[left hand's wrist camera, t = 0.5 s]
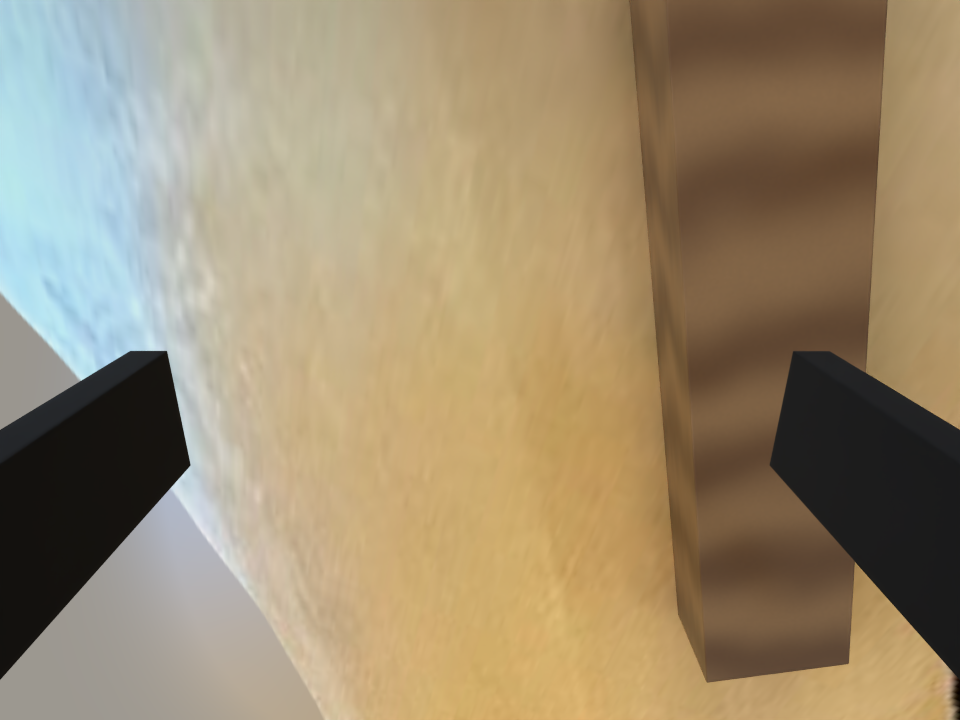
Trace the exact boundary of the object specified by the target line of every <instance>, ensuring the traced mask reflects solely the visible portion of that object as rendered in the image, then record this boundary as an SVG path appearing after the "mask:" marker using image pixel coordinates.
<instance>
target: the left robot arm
mask: <svg viewBox="0 0 960 720" xmlns="http://www.w3.org/2000/svg"><path fill="white" fill-rule="evenodd" d="M189 466H190V460H189V455H188V451H187V446H186V441H185V436H184V431H183V426H182V422H181V417H180V412H179V407H178V402H177V397H176V392H175V388H174V383H173V378H172V373H171V368H170V363H169V359H168V354H167V351H130V352H128V353H126V354H125V355H123V356H121V357H120V358H118V359H116V360H115V361H113V362H112V363H110V364H108V365H107V366H105V367H103V368H102V369H100V370H98V371H97V372H95V373H93V374H92V375H90V376H88V377H87V378H85V379H83V380H82V381H80V382H79V383H77V384H75V385H74V386H72V387H70V388H69V389H67V390H65V391H64V392H62V393H60V394H59V395H57V396H55V397H54V398H52V399H51V400H49V401H47V402H46V403H44V404H42V405H41V406H39V407H37V408H36V409H34V410H32V411H31V412H29V413H27V414H26V415H24V416H22V417H21V418H19V419H17V420H16V421H14V422H12V423H11V424H9V425H8V426H6V427H4V428H3V429H1V430H0V679H1V678H2V677H3V676H4V675H5V674H6V673H7V671H8V670H9V669H10V668H11V667H12V666H13V665H14V664H15V662H16V661H17V660H18V659H19V658H20V657H21V656H22V655H23V653H24V652H25V651H26V650H27V649H28V648H29V647H30V646H31V644H32V643H33V642H34V641H35V640H36V639H37V638H38V637H39V635H40V634H41V633H42V632H43V631H44V630H45V629H46V627H47V626H48V625H49V624H50V623H51V622H52V621H53V620H54V619H55V617H56V616H57V615H58V614H59V613H60V612H61V611H62V610H63V608H64V607H65V606H66V605H67V604H68V603H69V602H70V600H71V599H72V598H73V597H74V596H75V595H76V594H77V593H78V592H79V590H80V589H81V588H82V587H83V586H84V585H85V584H86V583H87V581H88V580H89V579H90V578H91V577H92V576H93V575H94V573H95V572H96V571H97V570H98V569H99V568H100V567H101V566H102V564H103V563H104V562H105V561H106V560H107V559H108V558H109V557H110V555H111V554H112V553H113V552H114V551H115V550H116V549H117V548H118V546H119V545H120V544H121V543H122V542H123V541H124V540H125V539H126V537H127V536H128V535H129V534H130V533H131V532H132V531H133V530H134V528H135V527H136V526H137V525H138V524H139V523H140V522H141V521H142V519H143V518H144V517H145V516H146V515H147V514H148V513H149V512H150V510H151V509H152V508H153V507H154V506H155V505H156V504H157V503H158V501H159V500H160V499H161V498H162V497H163V496H164V495H165V494H166V492H167V491H168V490H169V489H170V488H171V487H172V486H173V485H174V483H175V482H176V481H177V480H178V479H179V478H180V477H181V476H182V474H183V473H184V472H185V471H186V470H187V469H188V468H189ZM770 467H771V468H772V469H773V470H774V471H775V472H776V473H777V474H778V476H779V477H780V478H781V479H782V480H783V481H784V482H785V483H786V485H787V486H788V487H789V488H790V489H791V490H792V491H793V492H794V494H795V495H796V496H797V497H798V498H799V499H800V500H801V501H802V503H803V504H804V505H805V506H806V507H807V508H808V509H809V510H810V512H811V513H812V514H813V515H814V516H815V517H816V518H817V519H818V521H819V522H820V523H821V524H822V525H823V526H824V527H825V528H826V530H827V531H828V532H829V533H830V534H831V535H832V536H833V537H834V539H835V540H836V541H837V542H838V543H839V544H840V545H841V546H842V548H843V549H844V550H845V551H846V552H847V553H848V554H849V555H850V557H851V558H852V559H853V560H854V561H855V562H856V563H857V564H858V566H859V567H860V568H861V569H862V570H863V571H864V572H865V574H866V575H867V576H868V577H869V578H870V579H871V580H872V581H873V583H874V584H875V585H876V586H877V587H878V588H879V589H880V590H881V592H882V593H883V594H884V595H885V596H886V597H887V598H888V599H889V601H890V602H891V603H892V604H893V605H894V606H895V607H896V608H897V610H898V611H899V612H900V613H901V614H902V615H903V616H904V617H905V619H906V620H907V621H908V622H909V623H910V624H911V625H912V626H913V628H914V629H915V630H916V631H917V632H918V633H919V634H920V635H921V637H922V638H923V639H924V640H925V641H926V642H927V643H928V644H929V646H930V647H931V648H932V649H933V650H934V651H935V652H936V653H937V655H938V656H939V657H940V658H941V659H942V660H943V661H944V662H945V664H946V665H947V666H948V667H949V668H950V669H951V670H952V671H953V673H954V674H955V675H956V676H957V677H958V678H959V679H960V430H959V429H957V428H956V427H954V426H952V425H951V424H949V423H948V422H946V421H944V420H943V419H941V418H939V417H938V416H936V415H934V414H933V413H931V412H929V411H928V410H926V409H924V408H923V407H921V406H919V405H918V404H916V403H914V402H913V401H911V400H910V399H908V398H906V397H905V396H903V395H901V394H900V393H898V392H896V391H895V390H893V389H891V388H890V387H888V386H886V385H885V384H883V383H881V382H880V381H878V380H877V379H875V378H873V377H872V376H870V375H868V374H867V373H865V372H863V371H862V370H860V369H858V368H857V367H855V366H853V365H852V364H850V363H848V362H847V361H845V360H844V359H842V358H840V357H839V356H837V355H835V354H834V353H832V352H830V351H793V354H792V359H791V363H790V368H789V373H788V378H787V383H786V388H785V392H784V397H783V402H782V407H781V412H780V417H779V422H778V426H777V431H776V436H775V441H774V446H773V451H772V455H771V460H770Z"/></svg>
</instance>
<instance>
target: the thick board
mask: <svg viewBox="0 0 960 720" xmlns="http://www.w3.org/2000/svg"><path fill="white" fill-rule="evenodd" d="M630 10H631V22H632V35H633V48H634V60H635V73H636V86H637V98H638V111H639V124H640V136H641V149H642V162H643V174H644V187H645V200H646V212H647V225H648V237H649V250H650V263H651V275H652V288H653V301H654V313H655V326H656V339H657V351H658V364H659V377H660V389H661V402H662V415H663V427H664V440H665V453H666V465H667V478H668V490H669V503H670V516H671V528H672V541H673V554H674V566H675V579H676V592H677V604H678V615H679V617H680V620H681V622H682V624H683V627H684V629H685V632H686V634H687V636H688V639H689V641H690V644H691V646H692V648H693V651H694V653H695V656H696V658H697V660H698V663H699V665H700V667H701V670H702V672H703V675H704V677H705V679H706V682H715V681H722V680H730V679H738V678H745V677H753V676H760V675H768V674H776V673H783V672H791V671H798V670H806V669H813V668H821V667H829V666H836V665H844V664H848V663H849V649H850V632H851V615H852V598H853V580H854V563H855V561H854V560H853V559H852V558H851V557H850V555H849V554H848V553H847V552H846V551H845V550H844V549H843V548H842V546H841V545H840V544H839V543H838V542H837V541H836V540H835V539H834V537H833V536H832V535H831V534H830V533H829V532H828V531H827V530H826V528H825V527H824V526H823V525H822V524H821V523H820V522H819V521H818V519H817V518H816V517H815V516H814V515H813V514H812V513H811V512H810V510H809V509H808V508H807V507H806V506H805V505H804V504H803V503H802V501H801V500H800V499H799V498H798V497H797V496H796V495H795V494H794V492H793V491H792V490H791V489H790V488H789V487H788V486H787V485H786V483H785V482H784V481H783V480H782V479H781V478H780V477H779V476H778V474H777V473H776V472H775V471H774V470H773V469H772V468H771V467H770V460H771V455H772V451H773V446H774V441H775V436H776V431H777V426H778V422H779V417H780V412H781V407H782V402H783V397H784V392H785V388H786V383H787V378H788V373H789V368H790V363H791V359H792V354H793V351H830V352H832V353H834V354H835V355H837V356H839V357H840V358H842V359H844V360H845V361H847V362H848V363H850V364H852V365H853V366H855V367H857V368H858V369H860V370H862V371H863V372H865V373H866V358H867V341H868V324H869V306H870V289H871V272H872V255H873V238H874V221H875V204H876V187H877V169H878V152H879V135H880V118H881V101H882V84H883V67H884V50H885V32H886V15H887V0H630Z"/></svg>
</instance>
